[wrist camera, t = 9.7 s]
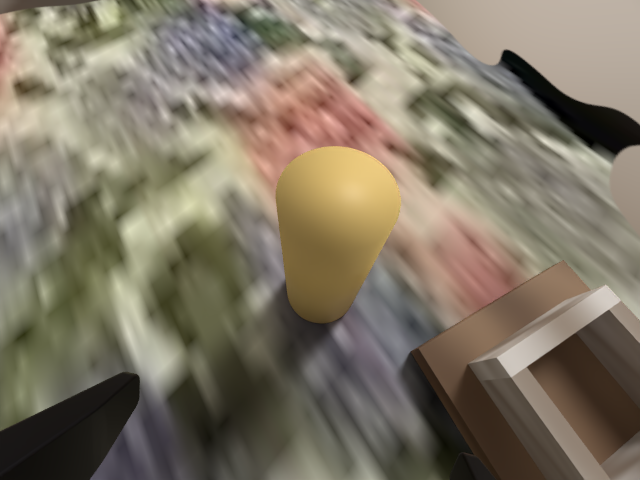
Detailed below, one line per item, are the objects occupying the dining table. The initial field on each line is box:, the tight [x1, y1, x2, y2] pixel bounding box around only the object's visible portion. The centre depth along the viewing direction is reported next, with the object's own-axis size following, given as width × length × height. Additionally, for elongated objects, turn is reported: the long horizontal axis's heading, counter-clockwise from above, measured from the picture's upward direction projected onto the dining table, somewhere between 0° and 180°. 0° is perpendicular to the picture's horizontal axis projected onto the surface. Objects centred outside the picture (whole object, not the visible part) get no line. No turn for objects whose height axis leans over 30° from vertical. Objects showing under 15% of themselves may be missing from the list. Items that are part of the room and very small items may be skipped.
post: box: [276, 146, 401, 324], centre depth 16 cm, size 4×4×11 cm
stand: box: [411, 260, 640, 480], centre depth 17 cm, size 12×12×4 cm
